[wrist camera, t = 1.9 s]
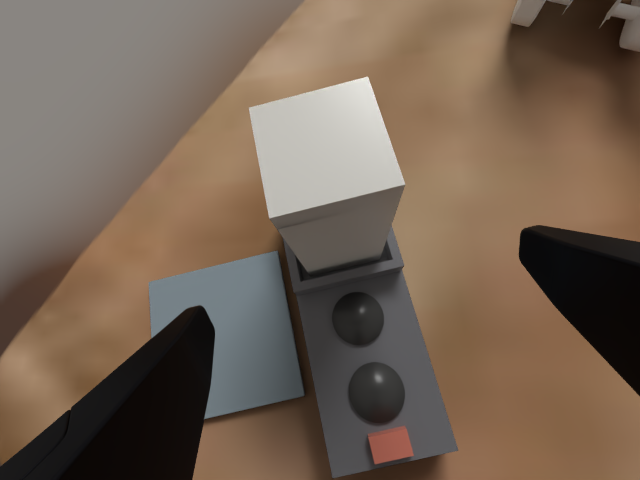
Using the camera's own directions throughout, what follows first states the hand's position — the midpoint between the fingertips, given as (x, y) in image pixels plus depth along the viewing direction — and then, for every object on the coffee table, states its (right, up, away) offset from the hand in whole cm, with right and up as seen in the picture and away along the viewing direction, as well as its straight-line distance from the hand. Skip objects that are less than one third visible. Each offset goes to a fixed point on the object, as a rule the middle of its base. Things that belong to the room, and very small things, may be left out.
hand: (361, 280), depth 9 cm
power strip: (+1, -4, +12) cm, 13 cm away
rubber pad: (-8, -5, +13) cm, 16 cm away
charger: (0, +1, +11) cm, 11 cm away
